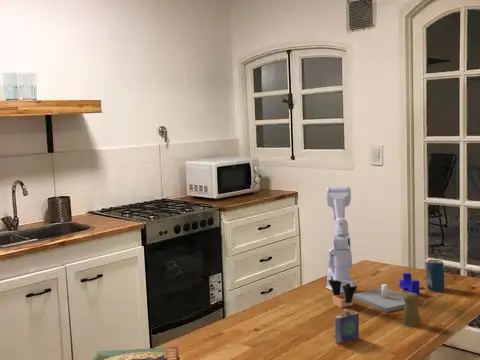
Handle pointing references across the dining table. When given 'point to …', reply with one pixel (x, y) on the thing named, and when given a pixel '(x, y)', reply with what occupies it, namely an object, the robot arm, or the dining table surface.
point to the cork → (411, 310)
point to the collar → (341, 300)
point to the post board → (382, 299)
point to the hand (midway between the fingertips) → (342, 299)
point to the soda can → (435, 275)
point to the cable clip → (409, 284)
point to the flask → (346, 327)
